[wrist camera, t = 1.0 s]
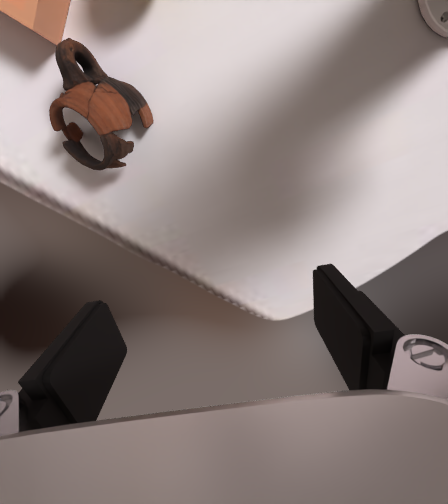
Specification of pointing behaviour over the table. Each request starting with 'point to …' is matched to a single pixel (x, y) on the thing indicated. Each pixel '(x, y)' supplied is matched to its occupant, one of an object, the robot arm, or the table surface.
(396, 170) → the table surface
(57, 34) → the orange square tray
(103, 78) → the pottery mug
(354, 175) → the table surface
